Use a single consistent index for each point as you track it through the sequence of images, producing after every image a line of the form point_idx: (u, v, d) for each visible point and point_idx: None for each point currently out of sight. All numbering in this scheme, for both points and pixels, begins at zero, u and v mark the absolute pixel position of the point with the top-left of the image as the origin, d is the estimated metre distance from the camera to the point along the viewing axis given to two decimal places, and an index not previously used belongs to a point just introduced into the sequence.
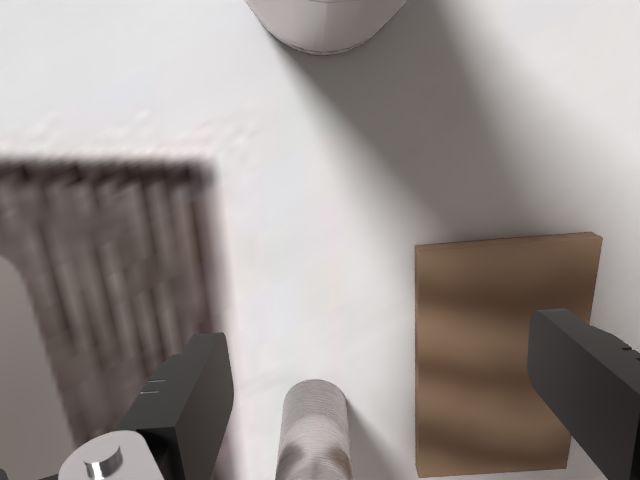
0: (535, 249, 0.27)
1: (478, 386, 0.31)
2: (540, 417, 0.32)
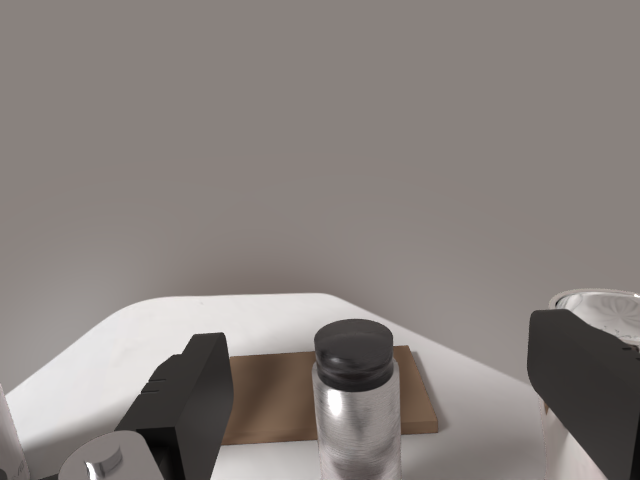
0: None
1: None
2: None
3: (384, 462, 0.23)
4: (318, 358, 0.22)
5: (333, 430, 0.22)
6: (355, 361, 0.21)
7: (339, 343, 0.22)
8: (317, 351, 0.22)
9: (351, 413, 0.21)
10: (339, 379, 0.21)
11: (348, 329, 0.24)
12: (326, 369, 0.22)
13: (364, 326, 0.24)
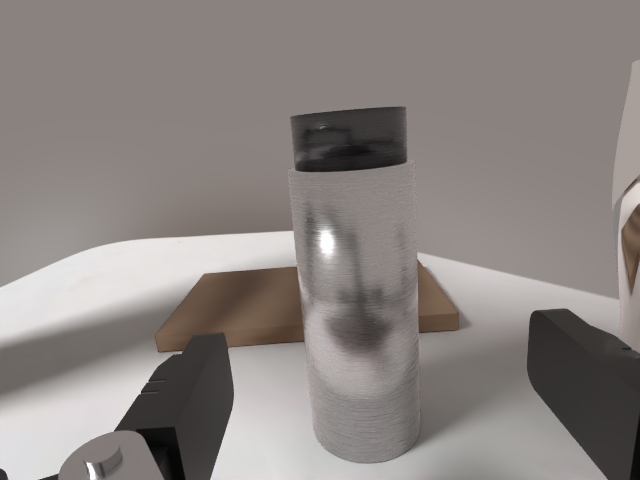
0: (195, 290, 0.34)
1: None
2: None
3: (395, 293, 0.15)
4: (295, 134, 0.15)
5: (318, 240, 0.15)
6: (351, 114, 0.14)
7: None
8: (294, 123, 0.15)
9: (345, 204, 0.14)
10: (327, 151, 0.14)
11: None
12: (307, 141, 0.14)
13: None
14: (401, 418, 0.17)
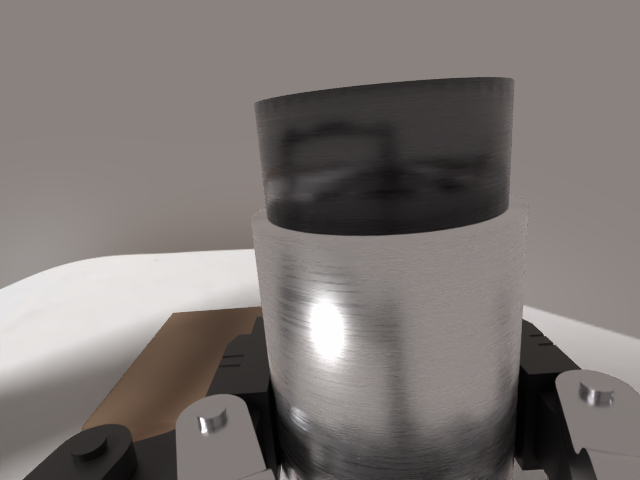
0: (156, 342, 0.26)
1: None
2: None
3: None
4: (264, 143, 0.07)
5: (313, 386, 0.07)
6: (400, 94, 0.05)
7: None
8: (260, 118, 0.07)
9: (379, 316, 0.06)
10: (335, 185, 0.06)
11: None
12: (289, 162, 0.06)
13: None
14: None
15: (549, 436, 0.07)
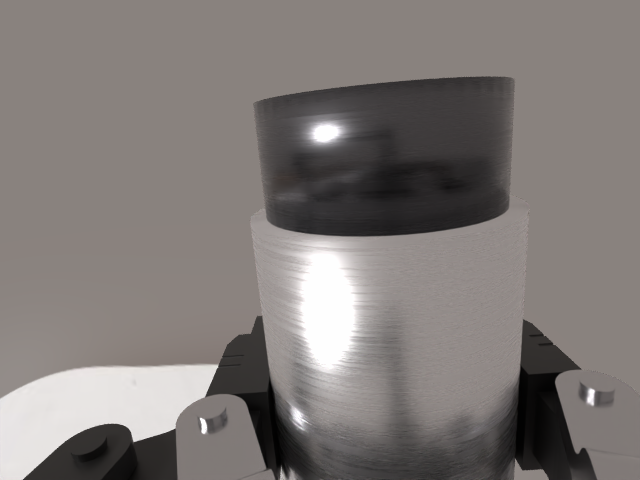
0: None
1: None
2: None
3: None
4: (263, 144, 0.07)
5: (313, 387, 0.07)
6: (399, 94, 0.05)
7: None
8: (259, 118, 0.07)
9: (379, 318, 0.06)
10: (335, 186, 0.06)
11: None
12: (288, 162, 0.06)
13: None
14: None
15: (549, 436, 0.07)
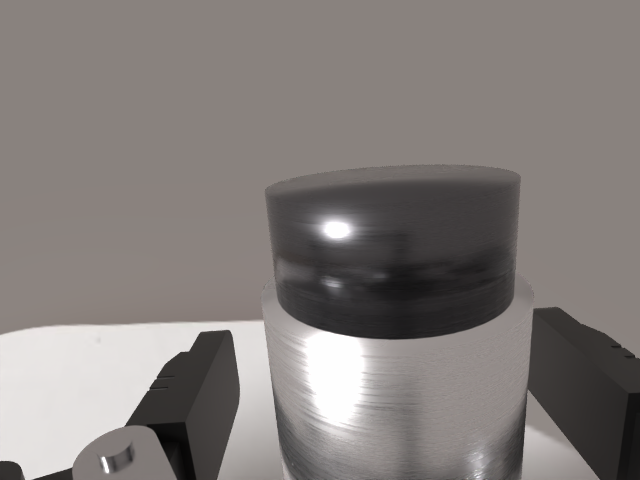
0: None
1: None
2: None
3: None
4: (275, 235, 0.07)
5: (324, 472, 0.07)
6: (410, 213, 0.05)
7: (343, 187, 0.07)
8: (271, 211, 0.07)
9: (389, 418, 0.06)
10: (346, 291, 0.06)
11: (368, 174, 0.08)
12: (300, 261, 0.06)
13: (413, 169, 0.08)
14: None
15: None
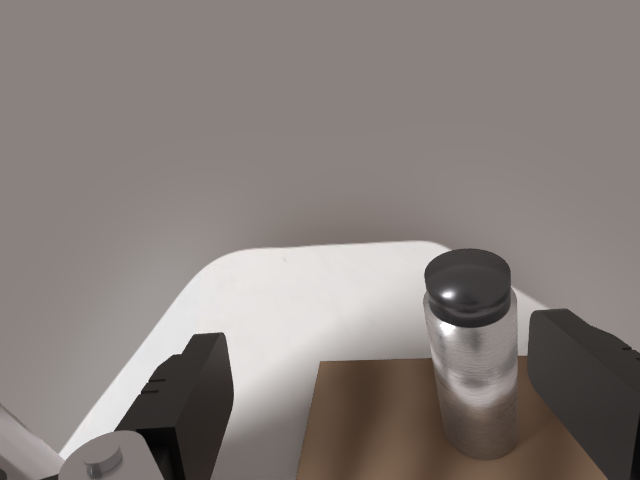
0: (316, 403, 0.34)
1: None
2: None
3: (501, 384, 0.23)
4: (430, 295, 0.22)
5: (448, 358, 0.23)
6: (471, 301, 0.20)
7: (451, 280, 0.22)
8: (428, 289, 0.22)
9: (467, 346, 0.22)
10: (454, 316, 0.21)
11: (459, 262, 0.23)
12: (439, 306, 0.22)
13: (477, 258, 0.23)
14: (504, 439, 0.26)
15: None
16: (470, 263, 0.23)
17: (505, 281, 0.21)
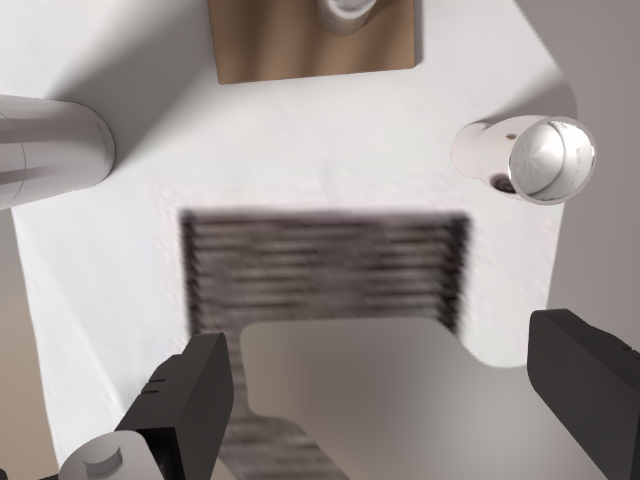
0: None
1: None
2: None
3: (368, 10, 0.33)
4: None
5: (336, 4, 0.31)
6: None
7: None
8: None
9: (352, 3, 0.30)
10: None
11: None
12: None
13: None
14: (360, 25, 0.39)
15: None
16: None
17: None
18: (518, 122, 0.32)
